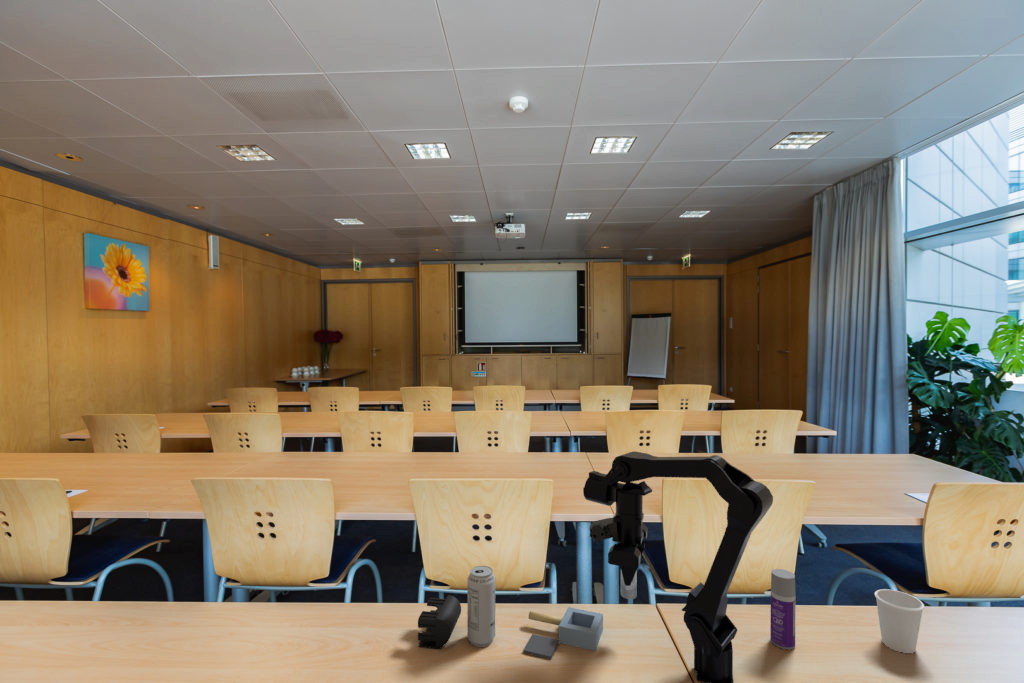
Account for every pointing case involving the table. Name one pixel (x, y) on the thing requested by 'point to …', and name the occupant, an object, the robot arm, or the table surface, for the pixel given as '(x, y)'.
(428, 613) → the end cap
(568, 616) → the blue-grey block with rod
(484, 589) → the energy drink can
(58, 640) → the table surface
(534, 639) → the mat
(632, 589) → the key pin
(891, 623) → the dixie cup
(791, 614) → the container
